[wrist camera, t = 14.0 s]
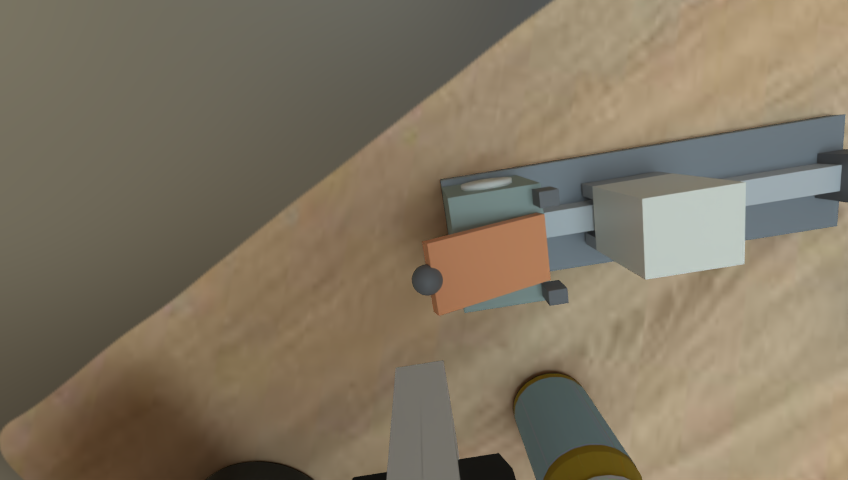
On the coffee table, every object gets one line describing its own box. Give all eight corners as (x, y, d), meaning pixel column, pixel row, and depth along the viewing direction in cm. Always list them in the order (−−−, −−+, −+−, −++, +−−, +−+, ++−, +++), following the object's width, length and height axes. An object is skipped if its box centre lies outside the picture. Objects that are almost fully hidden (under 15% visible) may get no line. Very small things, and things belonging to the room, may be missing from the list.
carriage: (586, 244, 34) (645, 279, 25) (581, 183, 32) (642, 198, 24) (659, 232, 33) (744, 264, 25) (657, 171, 32) (746, 182, 24)
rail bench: (455, 281, 36) (468, 329, 27) (440, 179, 34) (448, 193, 25) (823, 223, 35) (969, 252, 26) (830, 115, 33) (992, 104, 24)
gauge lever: (538, 275, 28) (414, 314, 25) (531, 211, 27) (401, 244, 24) (555, 281, 26) (424, 324, 23) (549, 214, 25) (411, 250, 22)
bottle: (528, 360, 38) (597, 497, 23) (597, 382, 38) (706, 528, 24) (500, 422, 39) (549, 587, 25) (567, 442, 40) (652, 614, 25)
